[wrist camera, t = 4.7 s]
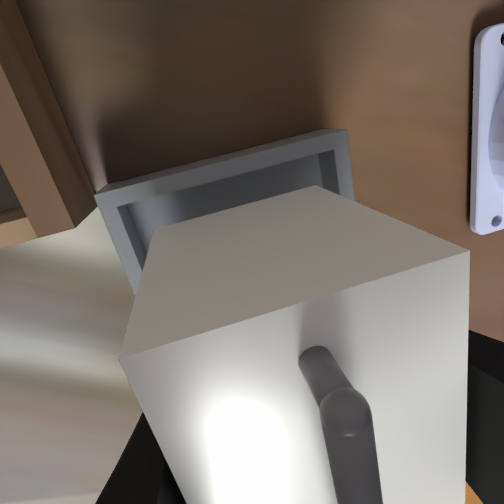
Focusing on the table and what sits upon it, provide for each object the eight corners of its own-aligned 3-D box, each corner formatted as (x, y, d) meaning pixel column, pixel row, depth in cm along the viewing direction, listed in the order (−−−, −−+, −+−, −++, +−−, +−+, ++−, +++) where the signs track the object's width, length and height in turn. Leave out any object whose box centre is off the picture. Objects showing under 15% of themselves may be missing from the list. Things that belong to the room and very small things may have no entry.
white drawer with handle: (315, 184, 10) (566, 291, 4) (343, 364, 13) (518, 619, 6) (154, 229, 10) (92, 448, 3) (217, 405, 12) (258, 730, 6)
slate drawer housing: (322, 128, 13) (346, 129, 11) (351, 343, 16) (373, 371, 15) (107, 184, 12) (93, 195, 10) (190, 395, 16) (191, 431, 14)
